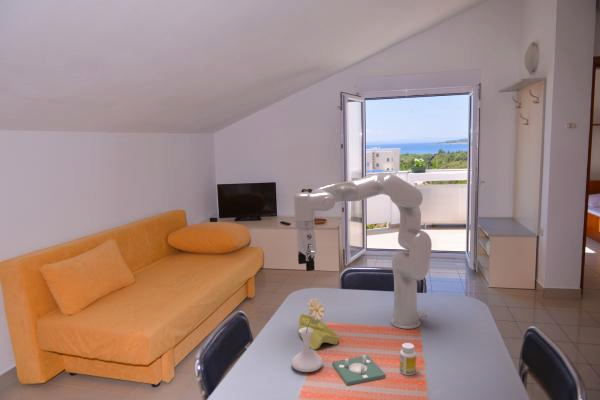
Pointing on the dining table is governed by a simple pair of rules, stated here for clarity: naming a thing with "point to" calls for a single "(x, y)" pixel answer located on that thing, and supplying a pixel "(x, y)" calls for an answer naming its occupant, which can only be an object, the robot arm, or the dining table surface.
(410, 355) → the supplement bottle
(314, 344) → the plastic component
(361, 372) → the board
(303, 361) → the flower in vase
